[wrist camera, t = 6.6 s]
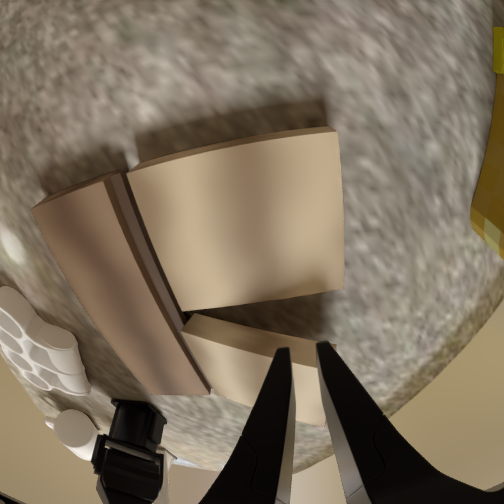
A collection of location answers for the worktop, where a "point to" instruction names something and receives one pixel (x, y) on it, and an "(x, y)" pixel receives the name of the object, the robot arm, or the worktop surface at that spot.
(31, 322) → the white honeycomb tray
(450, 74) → the worktop surface
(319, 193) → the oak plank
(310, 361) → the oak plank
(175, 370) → the walnut board
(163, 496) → the skyscraper
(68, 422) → the mug
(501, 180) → the book
